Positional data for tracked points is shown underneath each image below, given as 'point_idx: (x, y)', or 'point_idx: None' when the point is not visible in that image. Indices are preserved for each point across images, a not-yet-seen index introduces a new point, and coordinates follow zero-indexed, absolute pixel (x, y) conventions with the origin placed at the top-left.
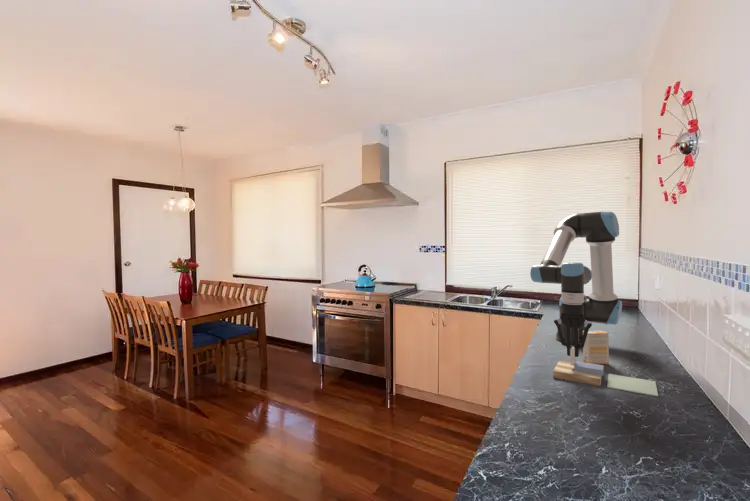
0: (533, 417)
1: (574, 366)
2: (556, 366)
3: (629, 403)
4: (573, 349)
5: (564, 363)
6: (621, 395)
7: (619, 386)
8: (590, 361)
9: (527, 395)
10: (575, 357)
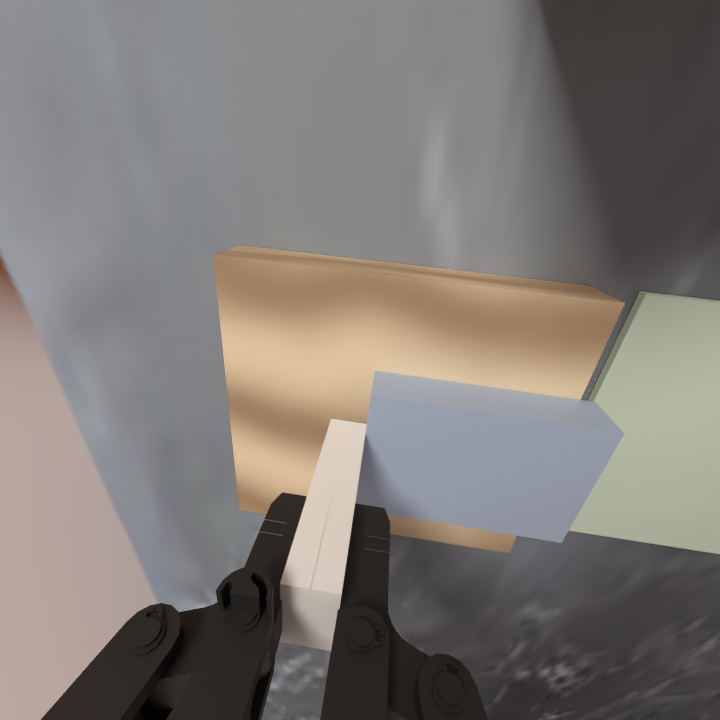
0: (273, 712)
1: (358, 503)
2: (236, 427)
3: (572, 628)
4: (322, 637)
5: (276, 332)
6: (571, 578)
7: (609, 511)
8: None
9: None
10: (359, 474)
